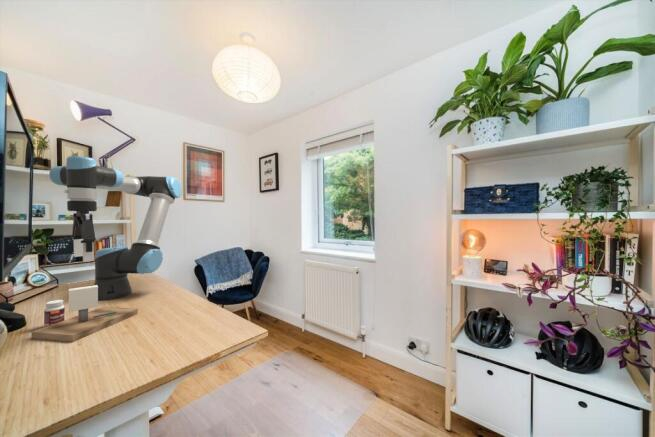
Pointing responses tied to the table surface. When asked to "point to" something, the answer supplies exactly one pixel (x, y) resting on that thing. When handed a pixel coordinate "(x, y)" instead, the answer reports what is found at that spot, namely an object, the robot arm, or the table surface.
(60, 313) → the pill bottle
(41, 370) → the table surface
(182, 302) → the table surface
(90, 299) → the white boxy piece
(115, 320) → the board
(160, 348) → the table surface
